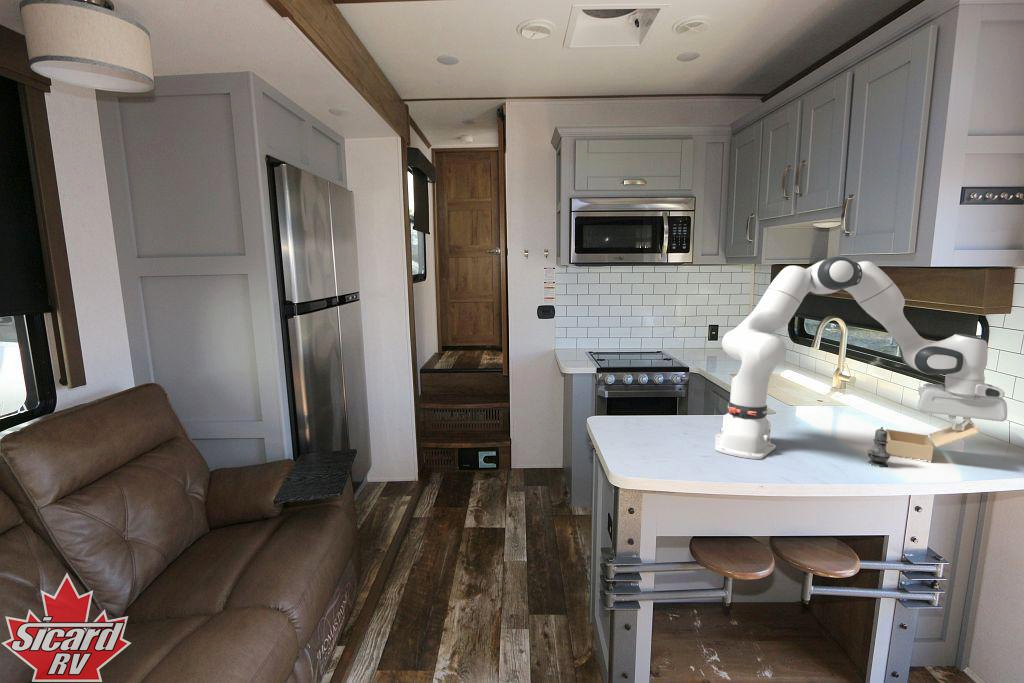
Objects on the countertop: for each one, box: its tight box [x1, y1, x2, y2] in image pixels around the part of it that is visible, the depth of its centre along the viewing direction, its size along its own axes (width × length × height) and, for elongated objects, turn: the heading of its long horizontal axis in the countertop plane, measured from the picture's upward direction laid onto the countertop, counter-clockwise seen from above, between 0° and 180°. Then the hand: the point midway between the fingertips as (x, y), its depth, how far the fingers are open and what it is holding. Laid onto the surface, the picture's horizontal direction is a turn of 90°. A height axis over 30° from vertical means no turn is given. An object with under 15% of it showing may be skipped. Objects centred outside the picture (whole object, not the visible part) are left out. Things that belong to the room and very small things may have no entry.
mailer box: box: [885, 428, 934, 461], centre depth 159 cm, size 14×11×5 cm
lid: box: [928, 419, 981, 448], centre depth 152 cm, size 14×12×1 cm
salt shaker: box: [866, 426, 892, 468], centre depth 148 cm, size 6×6×12 cm
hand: (957, 430), depth 150 cm, fingers closed
